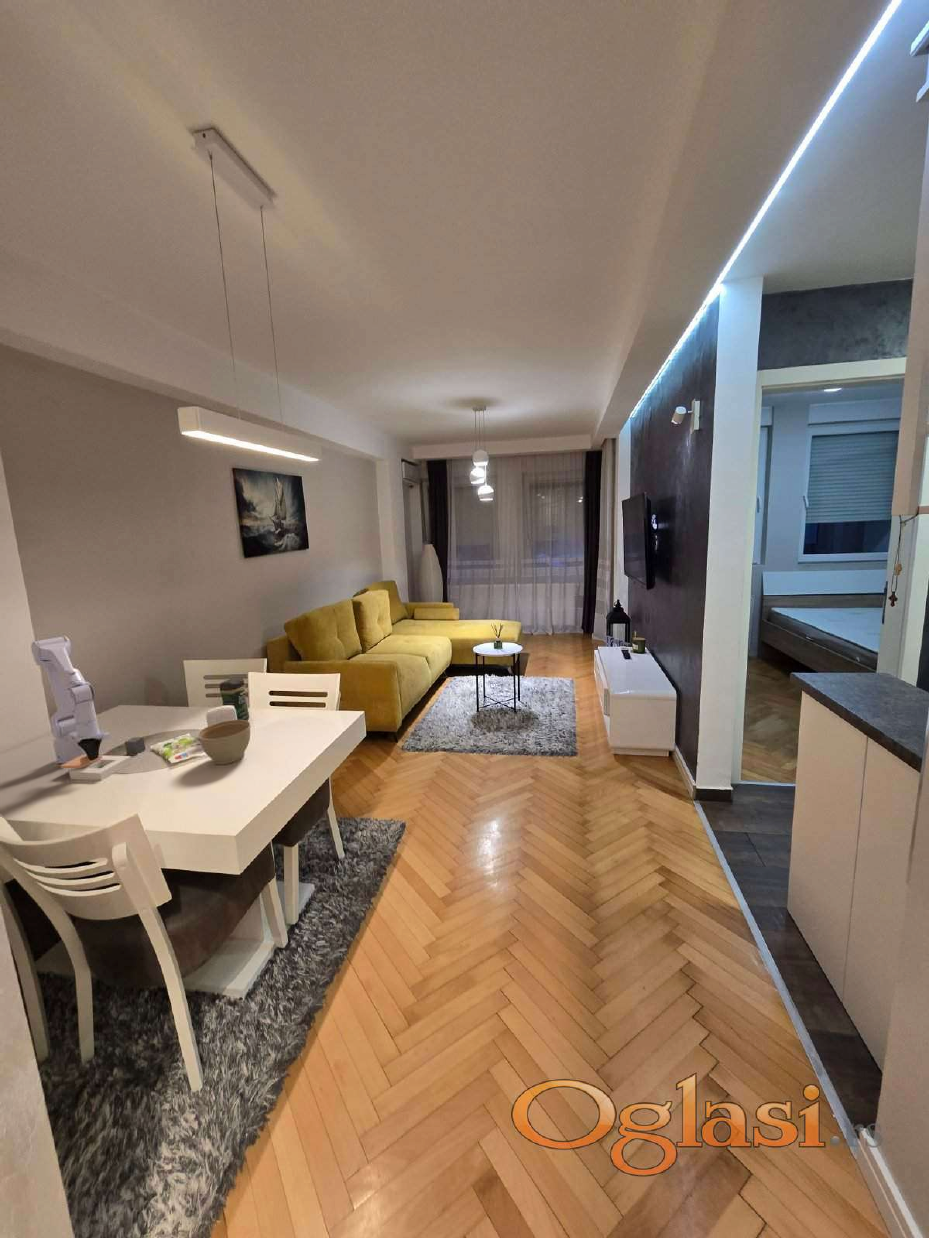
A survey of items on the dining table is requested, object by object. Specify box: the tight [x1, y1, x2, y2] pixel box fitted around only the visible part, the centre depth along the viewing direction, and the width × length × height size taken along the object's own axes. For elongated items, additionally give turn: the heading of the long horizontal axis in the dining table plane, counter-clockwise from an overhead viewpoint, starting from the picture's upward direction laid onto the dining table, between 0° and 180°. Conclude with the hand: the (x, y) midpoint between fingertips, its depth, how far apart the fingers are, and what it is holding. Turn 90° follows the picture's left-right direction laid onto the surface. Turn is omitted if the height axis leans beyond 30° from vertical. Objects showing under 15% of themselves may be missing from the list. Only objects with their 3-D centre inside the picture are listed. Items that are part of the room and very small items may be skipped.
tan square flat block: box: [60, 753, 104, 769], centre depth 169 cm, size 8×8×3 cm
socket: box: [68, 755, 133, 781], centre depth 168 cm, size 12×12×2 cm
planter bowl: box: [197, 720, 251, 765], centre depth 170 cm, size 16×16×11 cm
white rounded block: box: [205, 705, 237, 727], centre depth 189 cm, size 10×4×12 cm, turn 123°
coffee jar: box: [219, 676, 250, 721], centre depth 204 cm, size 10×8×19 cm
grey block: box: [124, 736, 146, 756], centre depth 181 cm, size 4×4×5 cm
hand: (94, 758), depth 168 cm, fingers closed
